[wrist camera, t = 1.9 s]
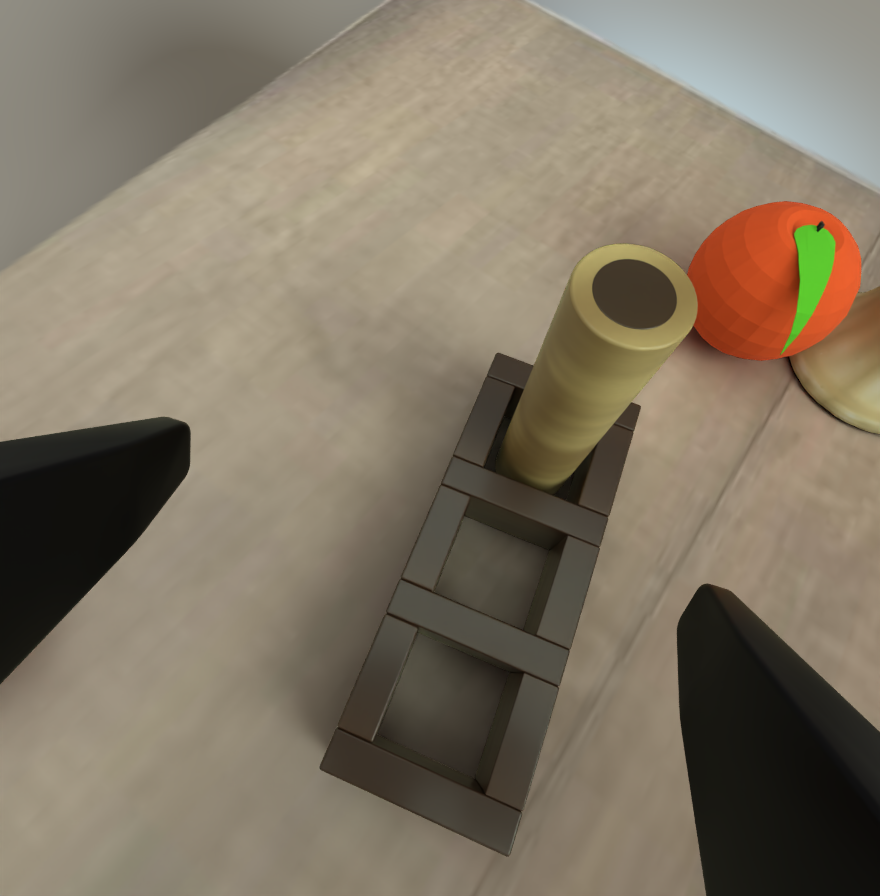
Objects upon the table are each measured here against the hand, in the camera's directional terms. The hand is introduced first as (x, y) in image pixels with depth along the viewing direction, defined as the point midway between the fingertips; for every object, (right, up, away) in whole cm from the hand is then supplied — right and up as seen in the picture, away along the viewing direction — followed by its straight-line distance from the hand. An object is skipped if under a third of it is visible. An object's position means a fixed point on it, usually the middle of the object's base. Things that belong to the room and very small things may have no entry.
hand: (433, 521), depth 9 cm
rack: (+2, -4, +14) cm, 15 cm away
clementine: (+15, +7, +19) cm, 25 cm away
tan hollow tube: (+4, 0, +16) cm, 16 cm away
